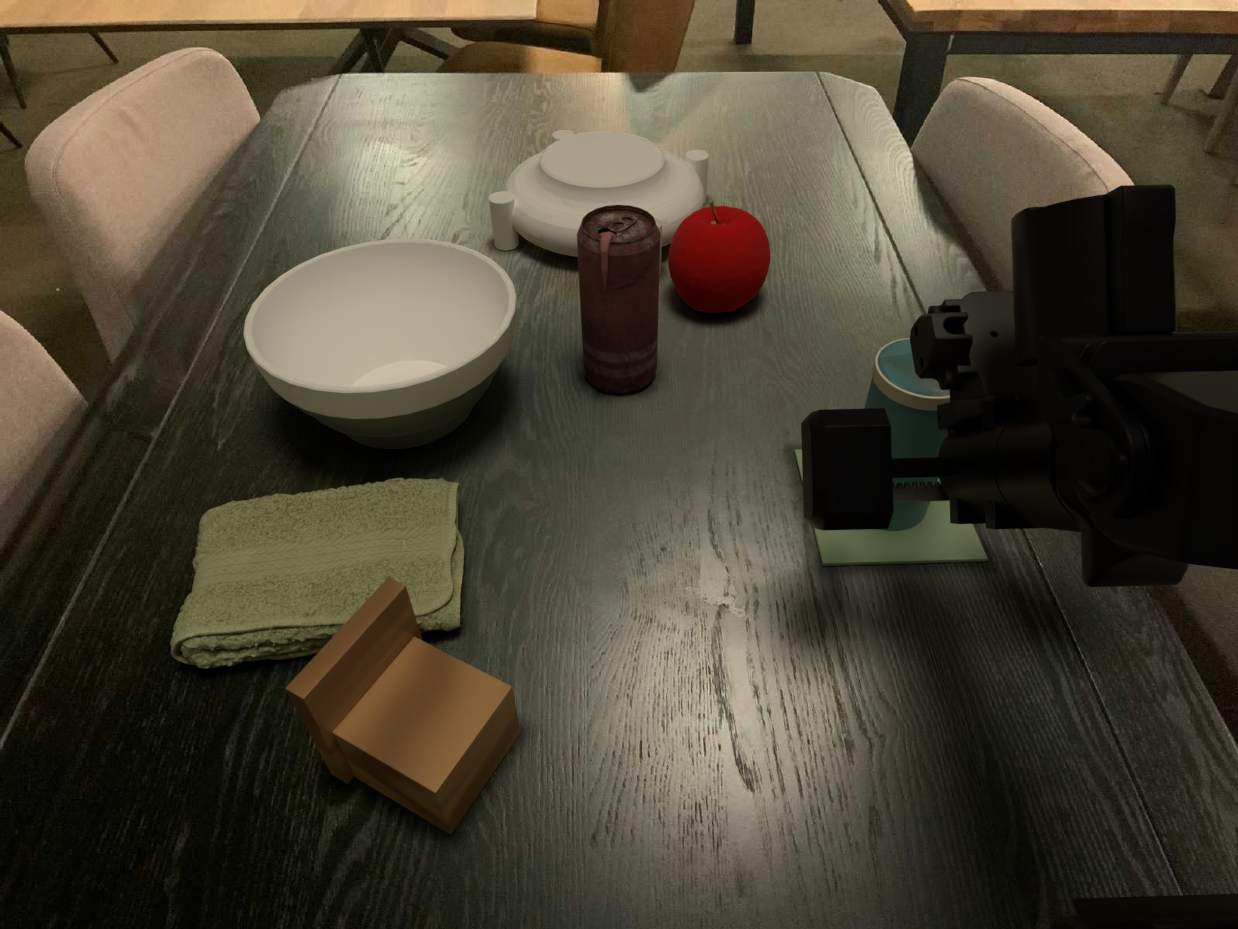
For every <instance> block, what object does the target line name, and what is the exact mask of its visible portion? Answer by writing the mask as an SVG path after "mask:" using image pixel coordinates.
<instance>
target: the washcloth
mask: <svg viewBox="0 0 1238 929" xmlns="http://www.w3.org/2000/svg"><path fill="white" fill-rule="evenodd" d="M460 493H461V490H460V483H459V482H456V481H454V482H452V481H448V480H446V479H445V478H443V477H440V478H429V479H425V478H411V477H410V478H406V479H405V478H404V477H395V478H389V479H386V480H385V481H378V480H377V481H375V482H373V483H371V482H369V481H368V482H366V483H365V484H364V483H363V484H355V485H354V484H353V485H348V486H345V485H342V486H340V487H337V488H333V487H330V488H328V489H327V488H326V489H318V490H313V491H310V492H309V491H306V492H302V491H301V492H298V493H296V494H289V493H274V494H273V495H264V496H262V497H261V496H260V497H255V498H249V499H248V500H247V499H246V500H245V499H243V500H237V501H236V500H231V501H230V502H227V503H225V504H222V505H219V506H215V507H212V508H210V509H208V510H207V511H206V512H205V513H204V514H203V515H202V516H201V518H200V520H199V522H198V525H199V527H198V534H197V540H196V547H195V556H194V557H193V559H192V567H193V573H195V574H194V576H193V583H192V587H191V592H190V593H189V594H188V595H187V596H186V598H185V599H184V601H183V602H184V603H183V604H182V605H181V606H180V608H179V611H180V612H179V613H178V615H177V618H176V621H175V622H174V625H173V628H172V629H173V632H172V637H171V638H170V655H171V657H172V658H173V659H175V660H176V661H177V662H180V663H183V664H186V665H190V666H191V665H192V666H193V665H194V666H196V667H197V668H199V669H205V670H206V669H210V668H211V669H216V668H217V669H219V668H220V667H222V668H223V667H232V666H236V665H239V664H241V663H242V662H255V661H265V660H274V661H283V660H288V659H295V658H301V657H307V656H311V655H316V654H317V653H318V652H319V651H320V650H321V649H322V648H323V647H324V646H325V645H326V644H327V643H328V642H329V641H330V639H331V638H332V637H333V636H334V635H335V634H336V633H337V632H338V631H339V630H340V629H341V628H342V627H343V626H344V624H345V623H346V622H347V621H348V620H349V619H350V618H351V617H352V616H353V615H354V614H355V613H356V612H357V610H358V609H359V608H360V607H361V606H362V605H363V604H364V603H365V602H366V601H367V600H368V599H369V598H370V597H371V595H372V594H373V593H374V592H375V591H376V590H377V589H378V588H379V587H380V586H381V585H382V584H383V583H384V582H385V580H386V579H387V578H388V577H389V578H391V579H393V580H395V581H398V582H400V583H402V584H404V585H406V588H407V591H408V594H409V597H410V601H411V604H412V607H413V611H414V614H415V617H416V620H417V624H418V627H419V630H420V634H423V633H425V632H432V631H434V632H436V631H445V632H451V631H453V630H455V629H458V628H461V602H462V599H461V593H462V583H463V575H464V565H465V548H464V542H463V537H462V535H461V533H460V531H459V503H460V502H459V501H460Z"/></svg>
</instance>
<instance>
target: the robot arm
mask: <svg viewBox="0 0 1238 929" xmlns="http://www.w3.org/2000/svg"><path fill="white" fill-rule="evenodd" d="M1176 199H1177V198H1176V187H1175V186H1174V185H1173V184H1170V183H1169V184H1133V185H1132V184H1129V185H1128V184H1127V185H1126V184H1124V185H1122V184H1121V185H1119V186H1117V187H1115V188H1114V189H1112V190H1110V191H1109V192H1106V193H1105V194H1097V195H1096V194H1095V195H1089V196H1085V197H1077V198H1073V199H1068V200H1064V201H1059V202H1056V203H1052V204H1049V205H1044V206H1030V207H1026V208H1024V209H1022V210H1021V211H1018V212H1016V214H1014V215H1013V217H1011V220H1010V238H1011V240H1010V241H1011V269H1012V270H1011V271H1012V290H982V291H971V292H969V293H967V294H965V295H964V296H963V297H962V298H949V299H944V300H943V301H942V302H941V304H938V305H930V306H929V307H928V309H927V313H925V314H921V315H919V316H918V318H917V319H916V320H915V322H914V324H913V325H912V327H911V328H910V333H909V338H910V344H911V350H912V356H913V362H914V368H915V373H916V375H917V376H918V377H919V378H920V379H934V380H936V381H938V383H939V387H940V389H941V390H949V391H950V402H948V403H944V404H939V405H937V420H938V429H939V430H947V435H948V436H946V437H945V438H944V440H943V442H942V444H941V447H940V450H939V454H938V457H925V458H892V444H891V424H890V421H889V418H888V416H887V413H886V411H885V408H867V409H864V408H832V409H830V408H829V409H817V410H813V411H811V412H810V413H809V414H808V415H807V416H806V417H805V418H804V419H803V420H802V421H801V422H800V434H801V435H800V437H801V438H800V439H801V449H802V473H803V485H802V505H803V508H802V509H803V519H804V520H805V521H806V522H807V523H808V524H809V525H810V526H811V527H812V528H813V527H814V528H815V529H819V530H823V531H826V530H864V529H888V528H889V525H890V521H891V518H892V515H893V512H894V511H893V502H923V501H950V523H953V524H973V525H978V524H979V525H980V524H981V525H982V524H985V529H990V530H1023V529H1025V530H1026V529H1049V530H1057V531H1065V532H1073V533H1080V555H1081V577H1082V581H1083V583H1084V585H1085V586H1086V587H1089V588H1106V587H1107V588H1115V587H1116V588H1117V587H1149V586H1150V587H1152V586H1153V587H1154V586H1177V585H1178V584H1181V582H1182V581H1183V579H1184V577H1185V575H1186V573H1187V572H1188V569H1189V565H1193V566H1202V567H1203V566H1204V567H1211V568H1219V569H1227V570H1228V569H1229V570H1234V571H1235V570H1236V571H1238V330H1226V331H1225V330H1223V331H1222V330H1221V331H1182V332H1181V331H1180V332H1179V331H1178V326H1177V325H1178V324H1177V322H1178V321H1177V295H1176V270H1175V269H1176V268H1175V266H1176V265H1175V264H1176V262H1175V233H1176V232H1175V231H1176V223H1177V205H1176V204H1177V203H1176ZM916 477H939V481H940V482H935V484H934V486H933V483H932V482H927V485H925V483H924V482H920V484H919V487H918V484H917V482H912V485H911V486H910V484H909V482H905V484H904V487H903V485H902V483H897V485H896V487H895V485H894V483H893V478H916ZM1072 902H1073V906H1074V909H1075V912H1076V913H1077V915H1062V916H1059V917H1057V918H1056V919H1055V920H1054V922H1053V923H1052V924H1051V927H1050V929H1238V893H1216V894H1215V893H1211V894H1180V895H1179V894H1178V895H1177V894H1176V895H1144V896H1112V897H1110V896H1109V897H1108V896H1107V897H1079V898H1078V897H1077V898H1075V897H1074V898H1073V901H1072Z"/></svg>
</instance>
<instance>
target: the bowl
mask: <svg viewBox="0 0 1238 929" xmlns="http://www.w3.org/2000/svg"><path fill="white" fill-rule="evenodd" d="M517 299H518V298H517V292H516V288H515V285H514V282H513V280H512V279H511V277H510V275H509V274H508V273H507V272H506V270H505V269H504V268H503V267H502V266H501V265H499V264H498V263H497V262H496V261H494V260H493V259H492V258H490V257H488V256H486V255H484V254H482V253H481V252H479V251H477V250H475V249H472V248H470V247H466V246H464V245H460V244H457V243H452V242H448V241H442V240H437V239H427V238H426V239H425V238H414V237H413V238H388V239H379V240H371V241H364V242H361V243H356V244H351V245H347V246H342V247H340V248H337V249H333V250H330V251H327V252H325V253H321V254H319V255H316V256H315V257H312V258H309V259H308V260H306V261H303V262H301V263H299V264H298V265H295V266H294V267H293V268H291V269H289V270H287V271H286V272H284V273H283V274H281V275H279V276H278V277H277V278H276V279H275V280H274V281H272V282H271V283H270V284H268V285H267V286H266V287H264V289H263V290H262V292H261V293H260V294H259V296H258V297H256V299H255V301H253V302H252V304H251V306H250V308H249V310H248V313H247V315H246V316H245V319H244V326H243V338H244V343H245V347H246V351H247V352H248V354H249V357H250V359H251V360H252V362H253V364H254V365H255V367H256V369H257V370H258V371H259V373H260V374H261V376H262V377H263V379H264V380H265V381H266V383H267V384H268V385H269V387H271V389H272V390H273V391H274V392H275V393H276V394H277V395H279V396H280V397H281V398H282V399H284V400H285V401H286V402H288V403H290V404H291V405H293V406H294V407H295V408H297V409H298V410H300V411H301V412H303V413H304V414H306V415H308V416H311V417H313V418H314V419H315V420H317V421H318V422H319V423H320V424H322V425H324V426H325V427H327V428H330V429H332V430H334V431H336V432H339V433H341V434H344V435H345V436H346V437H348V438H349V439H350V440H352V441H354V442H356V443H358V444H360V445H362V446H366V447H369V448H374V449H382V450H404V449H410V448H414V447H415V448H416V447H420V446H424V445H427V444H430V443H433V442H435V441H437V440H440V439H441V438H443V437H445V436H448V434H450V433H452V432H453V431H455V430H456V429H457V428H459V426H461V425H462V424H463V423H464V422H465V421H466V419H467V418H468V417H469V415H470V414H471V412H472V410H473V407H474V406H475V405H476V404H477V402H478V401H479V400H481V398H482V397H483V395H484V394H485V392H486V391H488V388H489V386H490V385H491V382H492V380H493V378H494V377H495V375H496V374H497V373H498V372H499V370H500V368H501V366H502V364H503V362H504V361H505V358H506V357H507V355H508V353H509V351H510V348H511V346H512V344H513V342H514V337H515V331H516V325H517V314H518V304H517V302H518V300H517Z"/></svg>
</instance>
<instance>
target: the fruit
mask: <svg viewBox="0 0 1238 929" xmlns="http://www.w3.org/2000/svg"><path fill="white" fill-rule="evenodd" d="M708 205H709V206H705V207H702V209H699V210H697V211H695V212H693V213H692V214H690V215H689V216H688V217H686V218H685V219H684V220H683V221H682V222H681V224H680V225H679V227H678V228H677V230H676V232H675V234H674V236H673V239H672V242H671V243H670V244H669V249H668V257H667V258H668V259H667V266H668V271H669V276H670V279H671V281H672V284H673V287H674V288H675V290H676V292H677V294H678V295H679V297H680V298H681V300H682V301H683V302H685V304H686V305H687V306H688V307H690V308H691V309H694V310H695V311H697V312H702V313H705V314H718V313H729V312H734V311H736V310H738V309H739V308H741V307H743V306H744V305H747V303H748V302H750V301H751V300H752V299H754V298H755V296H756V295H757V294H758V293H759V291H760V290H761V289H762V287H763V285H764V283H765V282H766V279H767V276H768V274H769V268H770V263H771V245H770V241H769V238H768V234H767V231H766V230H765V228H764V227H763V224H762V223H761V221H760V220H758V218H756V216H754V215H753V214H751V213H750V212H748V211H746V210H744V209H741V208H739V207H734V206H728V205H715V203H714V201H713V199H711V200H710V201H708Z"/></svg>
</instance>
